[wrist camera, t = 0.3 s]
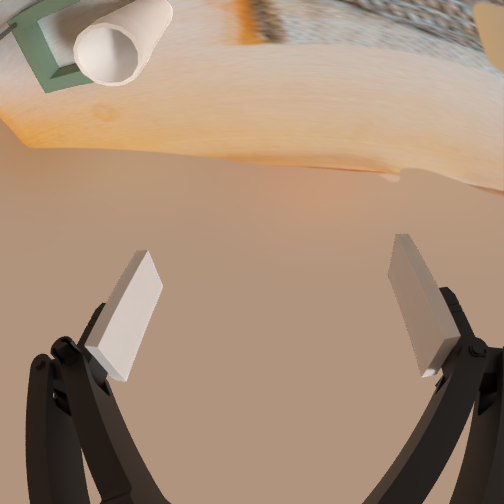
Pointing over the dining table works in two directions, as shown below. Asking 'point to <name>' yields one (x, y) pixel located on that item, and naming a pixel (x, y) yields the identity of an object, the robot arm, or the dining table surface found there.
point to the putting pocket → (43, 47)
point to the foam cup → (121, 41)
